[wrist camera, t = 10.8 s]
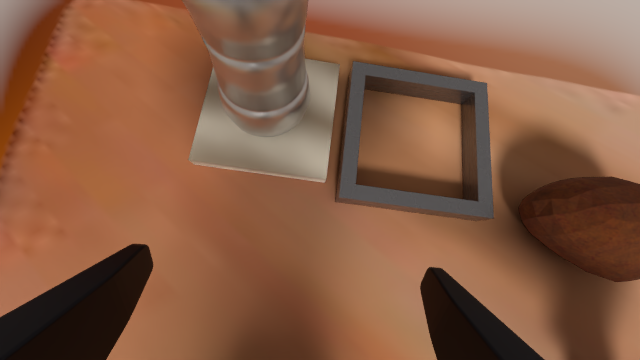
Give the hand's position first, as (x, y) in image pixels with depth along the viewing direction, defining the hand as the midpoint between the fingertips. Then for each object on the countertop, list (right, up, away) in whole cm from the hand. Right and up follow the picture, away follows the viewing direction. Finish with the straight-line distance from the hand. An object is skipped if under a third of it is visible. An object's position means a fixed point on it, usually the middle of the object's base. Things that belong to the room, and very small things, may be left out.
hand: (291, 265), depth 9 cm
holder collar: (+9, +6, +16) cm, 19 cm away
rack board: (-3, +9, +15) cm, 18 cm away
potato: (+22, -2, +15) cm, 27 cm away
